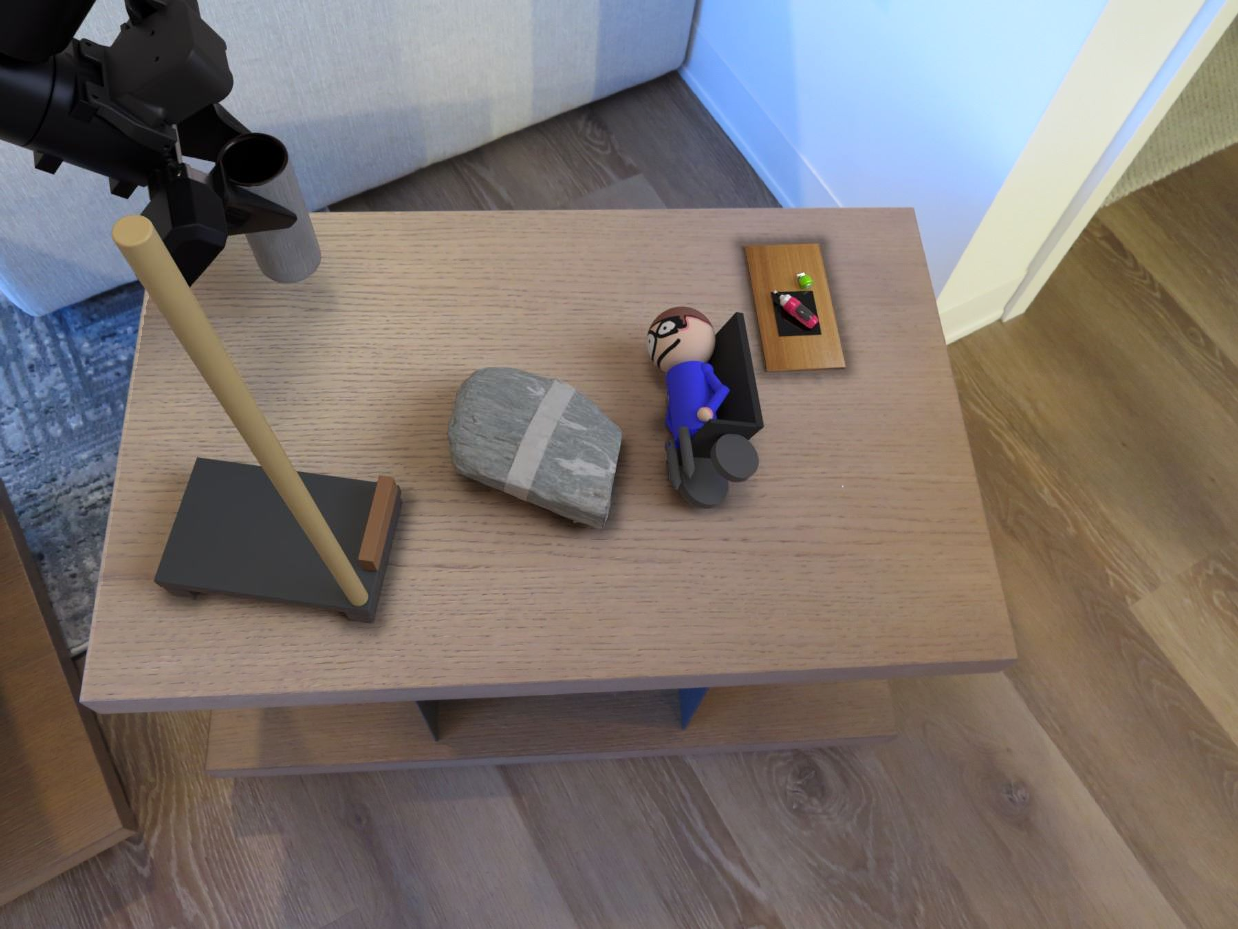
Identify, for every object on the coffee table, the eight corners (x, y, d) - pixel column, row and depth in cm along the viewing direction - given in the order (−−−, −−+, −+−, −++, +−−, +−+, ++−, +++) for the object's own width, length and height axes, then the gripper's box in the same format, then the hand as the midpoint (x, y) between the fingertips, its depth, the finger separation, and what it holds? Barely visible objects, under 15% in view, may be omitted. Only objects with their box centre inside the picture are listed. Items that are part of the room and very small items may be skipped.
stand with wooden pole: (169, 595, 64) (-324, 188, 28) (210, 474, 68) (-177, -20, 32) (376, 623, 64) (149, 254, 28) (405, 501, 68) (238, 39, 32)
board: (818, 245, 80) (822, 233, 79) (844, 368, 75) (850, 358, 74) (745, 247, 80) (748, 235, 78) (767, 371, 75) (770, 361, 73)
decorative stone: (430, 486, 69) (420, 450, 63) (483, 372, 73) (477, 328, 68) (602, 544, 68) (606, 511, 62) (645, 424, 72) (652, 384, 67)
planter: (330, 241, 71) (298, 139, 61) (309, 290, 69) (273, 192, 59) (271, 228, 71) (230, 124, 61) (248, 277, 69) (202, 177, 60)
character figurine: (661, 520, 69) (643, 344, 75) (761, 512, 69) (734, 337, 76) (664, 475, 62) (644, 285, 68) (775, 466, 62) (745, 277, 69)
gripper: (119, 123, 44) (389, 230, 56) (83, -130, 52) (330, 12, 64) (21, 263, 50) (286, 332, 62) (1, 17, 57) (242, 122, 69)
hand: (287, 194), depth 64 cm, fingers closed on planter, 4 cm apart
